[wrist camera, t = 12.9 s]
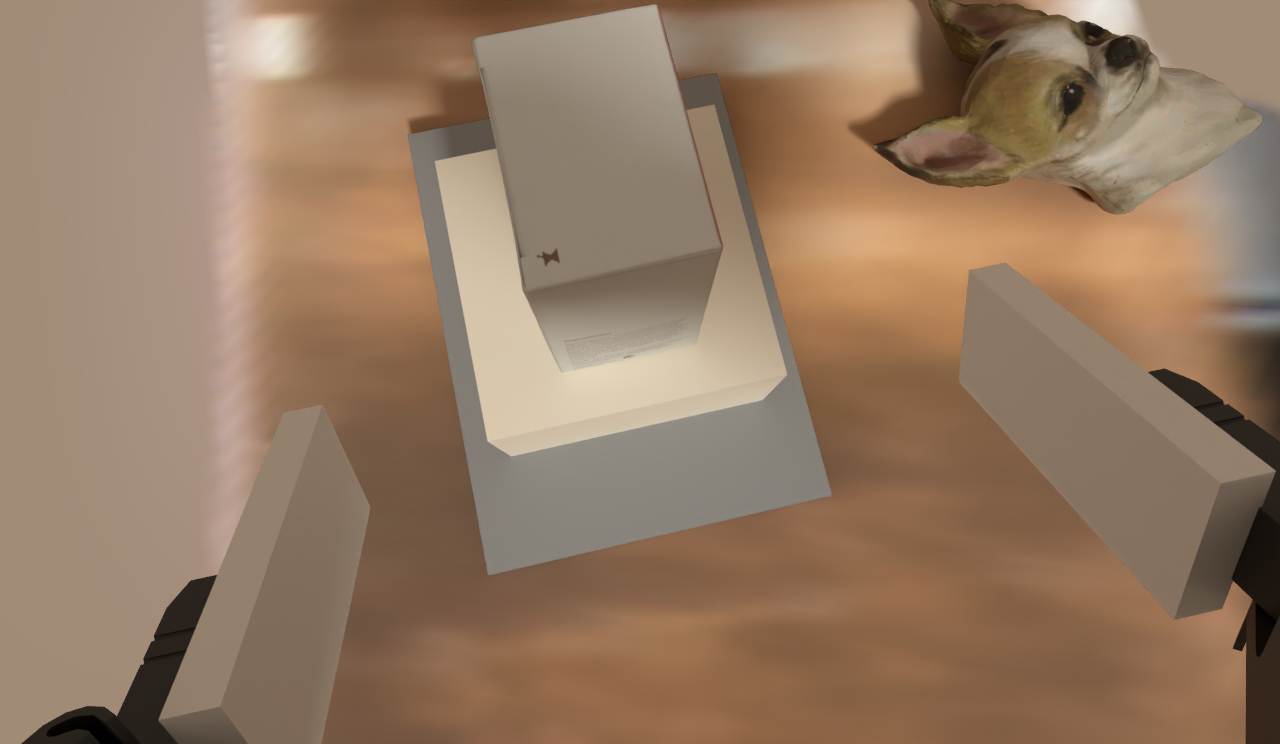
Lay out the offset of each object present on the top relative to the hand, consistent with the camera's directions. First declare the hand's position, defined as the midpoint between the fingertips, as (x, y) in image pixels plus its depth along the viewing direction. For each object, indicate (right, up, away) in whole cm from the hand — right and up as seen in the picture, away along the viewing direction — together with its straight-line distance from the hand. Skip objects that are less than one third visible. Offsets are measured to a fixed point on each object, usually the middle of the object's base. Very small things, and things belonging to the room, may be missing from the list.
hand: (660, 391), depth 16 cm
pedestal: (-2, +3, +23) cm, 23 cm away
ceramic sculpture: (+20, +12, +26) cm, 35 cm away
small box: (-2, +5, +16) cm, 17 cm away
